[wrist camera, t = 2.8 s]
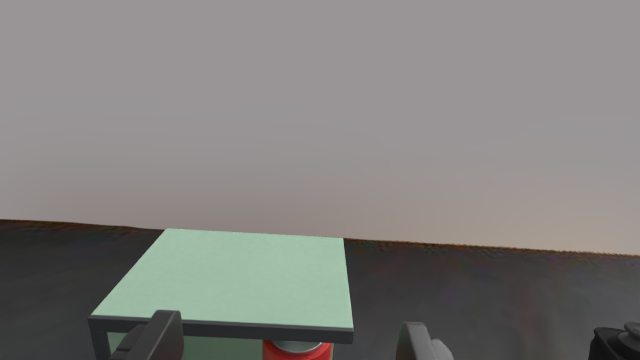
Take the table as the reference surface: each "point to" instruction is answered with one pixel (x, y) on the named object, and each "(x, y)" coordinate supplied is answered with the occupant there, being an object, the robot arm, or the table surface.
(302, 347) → the red can
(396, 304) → the table surface
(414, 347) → the robot arm
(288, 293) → the mint green cubby
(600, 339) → the controller
